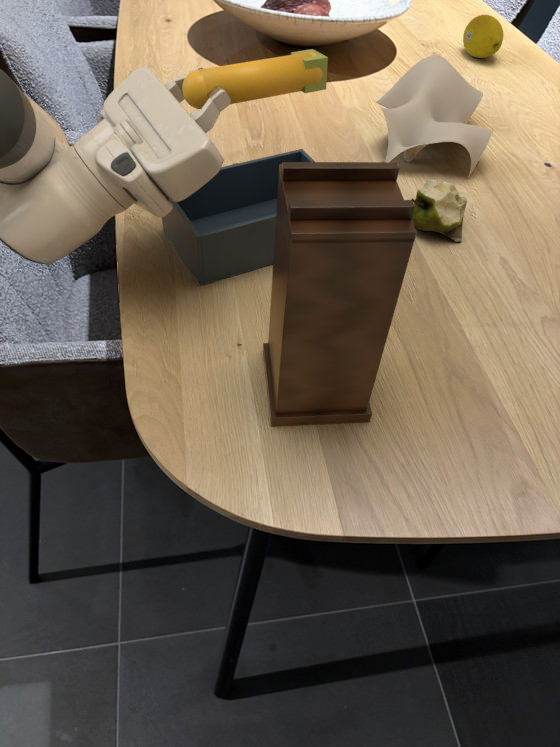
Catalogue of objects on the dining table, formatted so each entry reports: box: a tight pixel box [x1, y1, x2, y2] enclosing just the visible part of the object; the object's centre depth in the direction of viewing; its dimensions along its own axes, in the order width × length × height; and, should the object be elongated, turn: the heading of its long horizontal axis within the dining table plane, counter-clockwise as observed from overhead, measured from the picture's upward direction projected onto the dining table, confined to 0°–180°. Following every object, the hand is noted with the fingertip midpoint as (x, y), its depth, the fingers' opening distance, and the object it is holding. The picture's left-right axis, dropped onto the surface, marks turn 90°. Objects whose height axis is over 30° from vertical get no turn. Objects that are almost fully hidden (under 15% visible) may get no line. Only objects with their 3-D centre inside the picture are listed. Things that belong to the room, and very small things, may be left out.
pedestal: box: [262, 161, 418, 427], centre depth 59 cm, size 11×11×26 cm
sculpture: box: [375, 54, 493, 179], centre depth 104 cm, size 25×19×10 cm
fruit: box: [410, 178, 468, 243], centre depth 88 cm, size 9×9×8 cm
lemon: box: [462, 14, 504, 59], centre depth 129 cm, size 11×8×8 cm
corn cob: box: [182, 48, 329, 110], centre depth 70 cm, size 18×4×4 cm, turn 118°
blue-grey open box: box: [161, 148, 316, 287], centre depth 83 cm, size 22×13×8 cm, turn 118°
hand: (216, 83), depth 67 cm, fingers closed on corn cob, 4 cm apart
